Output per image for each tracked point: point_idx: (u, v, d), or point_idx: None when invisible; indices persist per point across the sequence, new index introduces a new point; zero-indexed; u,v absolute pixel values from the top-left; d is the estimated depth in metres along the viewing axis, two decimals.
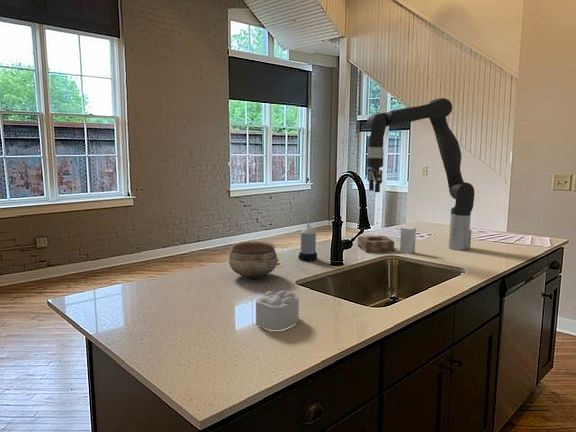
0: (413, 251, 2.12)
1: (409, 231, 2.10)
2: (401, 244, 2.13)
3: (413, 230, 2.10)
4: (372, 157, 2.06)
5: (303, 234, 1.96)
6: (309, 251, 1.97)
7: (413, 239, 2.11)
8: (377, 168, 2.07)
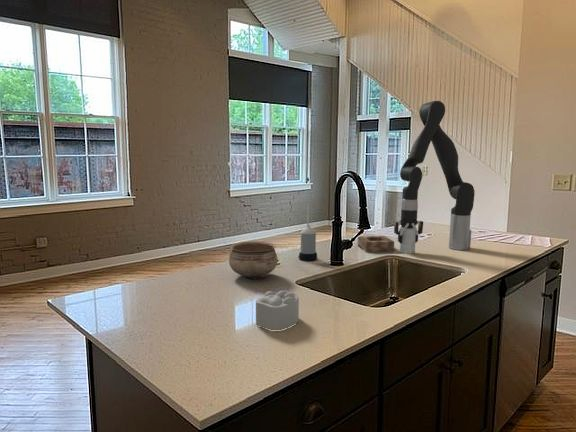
0: (413, 251, 2.12)
1: (409, 231, 2.10)
2: (401, 244, 2.13)
3: (413, 230, 2.10)
4: (417, 209, 2.09)
5: (303, 234, 1.96)
6: (309, 251, 1.97)
7: (413, 239, 2.11)
8: None
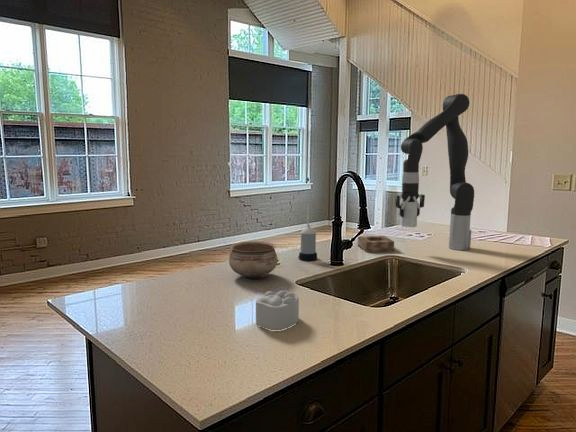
0: (415, 225, 2.10)
1: (411, 204, 2.08)
2: (403, 218, 2.11)
3: (415, 203, 2.08)
4: (418, 182, 2.07)
5: (303, 234, 1.96)
6: (309, 251, 1.97)
7: (415, 213, 2.09)
8: None
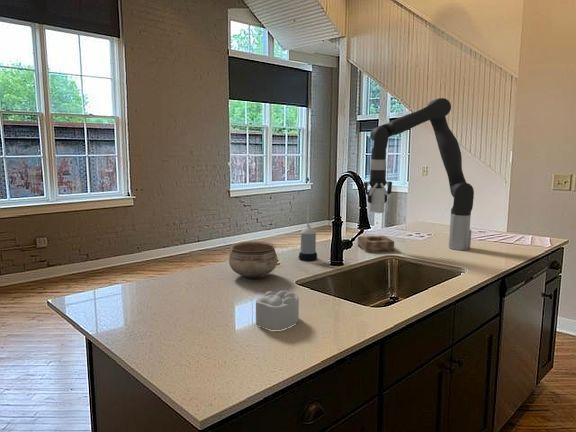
0: (382, 211, 2.16)
1: (378, 190, 2.14)
2: (371, 204, 2.18)
3: (382, 190, 2.14)
4: (385, 169, 2.13)
5: (303, 234, 1.96)
6: (309, 251, 1.97)
7: (382, 199, 2.15)
8: None
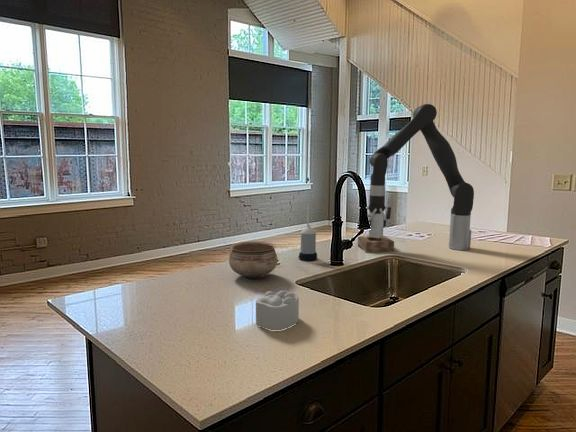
0: (381, 236, 2.18)
1: (377, 216, 2.16)
2: None
3: (381, 215, 2.16)
4: (384, 195, 2.15)
5: (303, 234, 1.96)
6: (309, 251, 1.97)
7: (381, 224, 2.17)
8: None
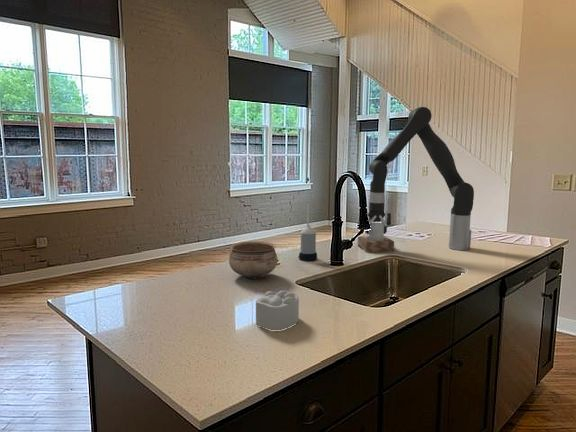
0: None
1: (377, 226, 2.17)
2: (370, 239, 2.20)
3: (381, 225, 2.17)
4: (384, 202, 2.16)
5: (303, 234, 1.96)
6: (309, 251, 1.97)
7: (381, 234, 2.18)
8: None
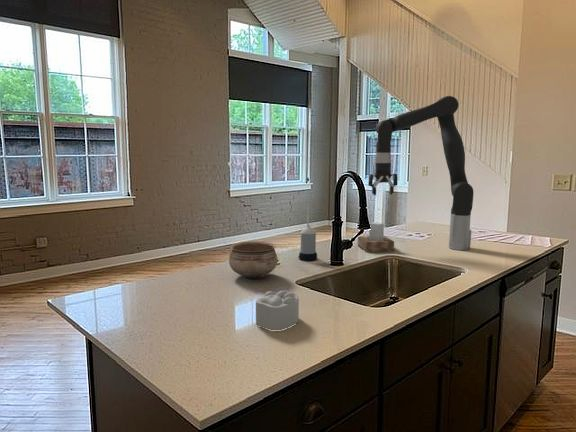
0: None
1: (377, 226, 2.17)
2: (370, 239, 2.20)
3: (381, 225, 2.17)
4: (390, 162, 2.17)
5: (303, 234, 1.96)
6: (309, 251, 1.97)
7: (381, 234, 2.18)
8: None
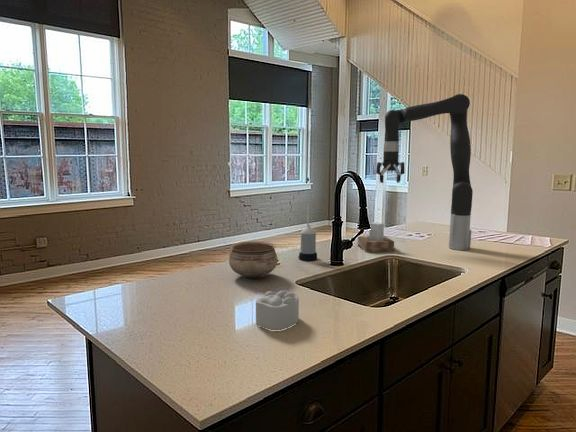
0: None
1: (377, 226, 2.17)
2: (370, 239, 2.20)
3: (381, 225, 2.17)
4: (398, 150, 2.23)
5: (303, 234, 1.96)
6: (309, 251, 1.97)
7: (381, 234, 2.18)
8: None
